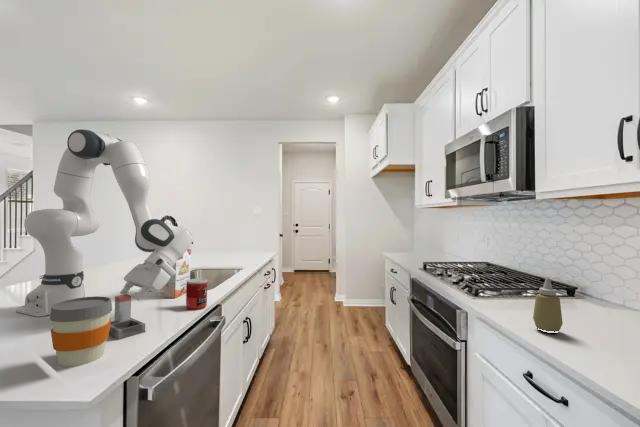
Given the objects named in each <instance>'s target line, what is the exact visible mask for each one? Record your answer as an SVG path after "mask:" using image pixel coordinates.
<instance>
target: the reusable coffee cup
mask: <svg viewBox="0 0 640 427" xmlns="http://www.w3.org/2000/svg"><path fill="white" fill-rule="evenodd" d="M112 303H113V302H112V298H111V297H109V296H95V295H94V296H85V297H82V298H75V299H70V300H66V301H62V302H59V303H56V304H54V305H53V306H52V307H51V313H50V315H49V320H50V321H51V329H50V336H51V342H52V348H53V350H55V355H56V359H57V365H58V366H60V367H64V368H72V367H79V366H83V365H87V364H90V363H93V362H95V361H98V360H99V359H101V358H103V357H104V353H105V349H106V342H107V340H108V339H109V330H110V324H111V322H112V319H110V317H111V312H112V311H113V305H112Z"/></svg>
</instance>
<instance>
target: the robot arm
mask: <svg viewBox="0 0 640 427" xmlns="http://www.w3.org/2000/svg"><path fill="white" fill-rule="evenodd" d="M66 144H67V148H65V150H64V152H63V154H62V156H61V159H60V161H59V164H58V168H57V171H56V176H55V181H54V185H53V192H54V194H55V195H56V196H57V197H58V198H60V200H62V204H63V205H62V206H63V207H62V208H45V209H39V210H33V211H31V212H29V213H28V214H27V215H26V217H25V220H24V222H23V223H24V224H23V225H24V230H25V231H26V233H27V234H28V235H29V236H30V237H33V238H35V239H36V241H37V242H38V243H39V244H40V246H41V248H42V250H43V253H44V261H45V262H44V265H45V267H44V268H45V273H44V274H43V275H39V280H41V282H40V284H39V285H38V286H37V287H36V288H33V290H32V291H29V293H27V294H26V295H25V300H24V305H23V306H20V307H18V308H16V309H15V312H16V313H20V314H24V315H29V316H33V317H37V318H38V317H44V316H50V313H51V307H52V306H53V305H54V304H56V303H59V302H62V301H66V300H70V299H75V298H82V297H86V292H85V284H84V283H83V281H84V278H85V274H84V271H83V252H82V250H81V249H80V248H77V247H75V246H74V244H73V243H72V239H71V238H72V237H74V238H75V237H83V236H86V235H87V236H88V235H90V234H93V233H95V232H97V231H98V229H99V227H100V224H101V223H100V221H101V220H100V217H99V216H98V214H97V213H96V212H95V211H94V210H93V207H92V204H91V191H92V187H93V180H94V176H95V170H96V168H97V166H99V165H100V164H102V165H103V166H111V170H112V172H113V175H114V178H115V181H116V182H117V184H118V187H119V188H120V190H121V192H122V194H123V196H124V198H125V200H126V203H127V205H128V208H129V210H130V214H131V216H132V221H133V224H134V226H135V236H134V243H135V245H136V247H137V248H138V249H139V250H140V251H142V252H145V253H150V254H149V256H148V257H146V259H144V262H143V263H139V264H137V265H136V266H134V267H133V268H131V270H130V271H129V272H127V273H126V275H125V276H124V278H123V280H124V281H125V284H124V286H123V288H122V289H121V291H120V292H119V295H124V294H128V295H129V292H130V290H131V289H133V287H134V286H135V287H137V288H141V290H139V291H138V292H137V293H135V294H134V295H132V299H133V300H134V301H137V302H138V301H140V300H141V298H144V296H145V295H147V294H149V293H150V292H154V293H157V292H159V291H161V290H162V289H163V288H164V285H165V284H166V283H167V282H168V281H169V279H170V277H171V276H174V275H175V274H176V271H175V270H174V269H173V268H172V267H173V266H174V265H175V263H176V261H177V260H178V259H179V258H181V257H182V256H183V255H184V253H185V252H186V251H187V250H188V249H190V247H191V246H192V244H193V237H192V236H193V235H192V234H191V233H190V232H189V230H188V229H187V228H185V227H183V226H175V225H171V224H169V223H167V222H164V221H163V220H161V219H157V218H153V217H152V215H151V212H150V208H149V204H148V193H149V189H150V184H151V180H150V174H149V170H148V168H147V165H146V163H145V160H144V158H143V156H142V154H141V152H140V150H139V149H138V148H137V146H136V145H135V144H134V143H133V142H131V141H128V140H121V139H119V138H117V137H114V136H111V135H108V134H106V133H101V132H96V131H93V130H89V129H75V130H74V131H72V132H71V133H70V134H69V135H68V137H67V142H66Z"/></svg>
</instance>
